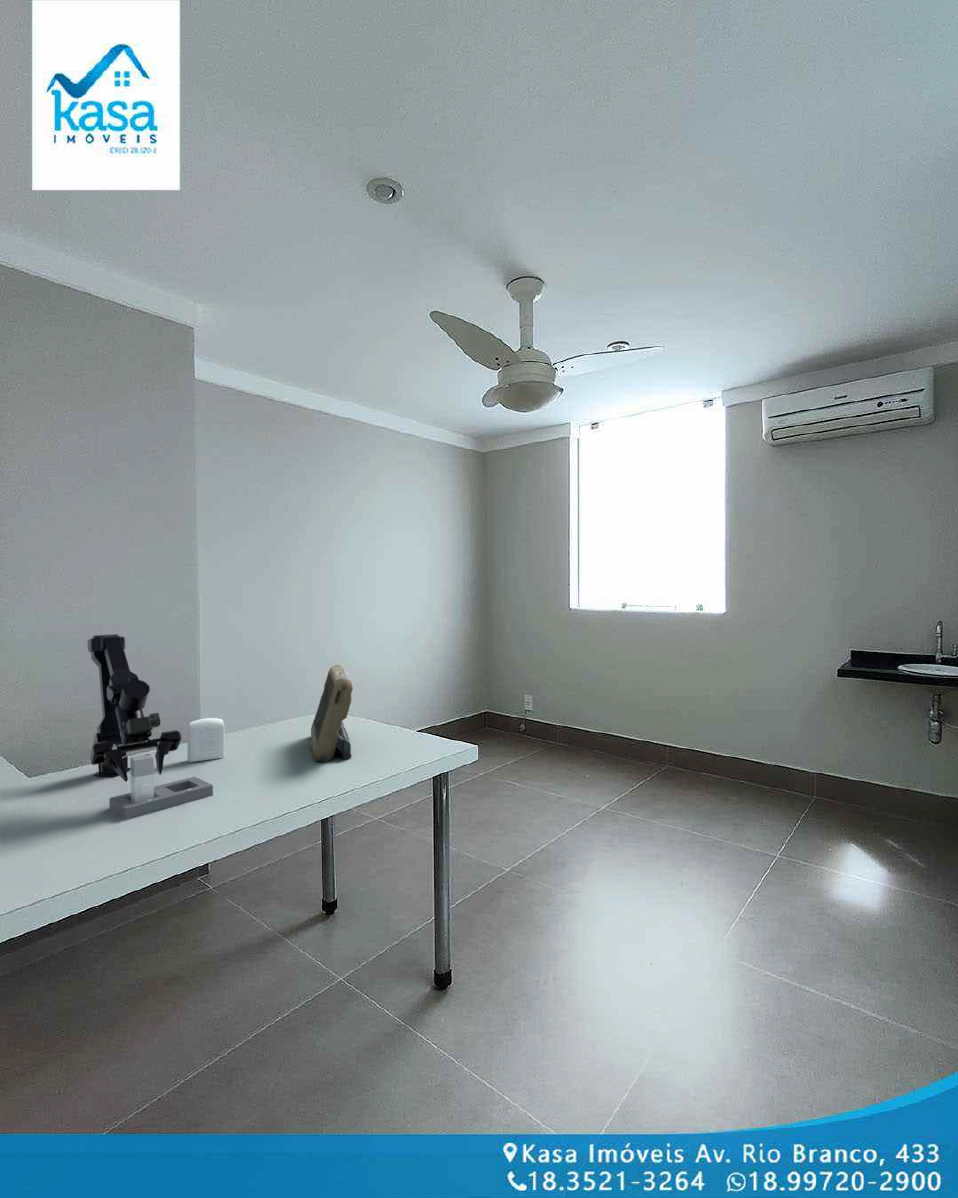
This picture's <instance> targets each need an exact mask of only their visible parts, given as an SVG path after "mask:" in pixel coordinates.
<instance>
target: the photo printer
mask: <svg viewBox="0 0 958 1198" xmlns="http://www.w3.org/2000/svg"><path fill="white" fill-rule="evenodd" d="M224 757H225V723H224V720H223V719H222V718H217V717H208V718H207V717H206V718H201V719H199V718H198V719H196V720H193V721H190V722H189V723H188V727H187V762H188V763H194V762H202V761H207V760H218V759H223V758H224Z"/></svg>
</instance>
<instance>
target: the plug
mask: <svg viewBox="0 0 958 1198" xmlns="http://www.w3.org/2000/svg"><path fill="white" fill-rule="evenodd" d="M129 758H130V768H131V770H130V793H131V802H132V803H137V802H141V801H145V800H148V799H152V798H154V787H155V777H154V775H155V770H154V767H155V766H154V763H155V762H154V757H153V755H151V754H150V753H146V754H142V755H141V754H140V755H135V756H134V755H133V756H130V757H129Z"/></svg>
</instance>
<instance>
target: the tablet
mask: <svg viewBox="0 0 958 1198" xmlns="http://www.w3.org/2000/svg"><path fill="white" fill-rule="evenodd" d="M353 689H354V686H353V683H352V681H351V680H350V679H349V678H348V677H347V675H346V673H345V669H344V668H343V667H342V665H339V664H334V665H332V666H331V667H330V668H329V670H328V673H327V676H326V679H325V682H324V686H323V691H322V693H321V696H320V699H319V703H318V707H317V710H316V713H315V715H314V718H313V720H312V723H311V728H310V747H311V750H312V751H313V758H314V760H315V761H317V762H321V763H325V762H327V761H331V759H332V758H333V757H334V756H335V753H336V748H337V749H338V750H339V751H340V753H341V756H342V758H343V759H345V760H351V758H352V752H351V751H352V750H351V749H352V748H351V747H352V745H351V742H350V737H349V734H348V732H347V729H346V728H345V725H344V723H343V721H344V720H346V719H347V718H348V714H349V710H350V706H351V704H352V693H353Z"/></svg>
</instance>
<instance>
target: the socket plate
mask: <svg viewBox="0 0 958 1198" xmlns="http://www.w3.org/2000/svg"><path fill="white" fill-rule="evenodd" d="M213 795H214V785H213V784H212V783H210V782H208V781H205V780H203V779H200V778H199V777H196V776H191V777H188V778H184V779H179V780H176V781H171V782H167V783H164V784H159V785H156V786H155V785H154V798H152V799H148V800H145V801H141V802H137V803H132V802H131V792H127V793H124V794H120V795H116V796H113V797H109V798H108V799H109V803H108V804H109V809H110V810H111V811H112V812H114V813H116V814H117V815H119V816H120V817H121V818H123V819H125V820H128V819H129V820H130V819H133V818H135V817H141V816H143V815H147V814H151V813H153V812H158V811H162V810H165V809H168V808H172V807H174V806H179V805H182V804H186V803H189V802H192V801H193V802H194V801H197V800H200V799H203V798H207V797H211V796H213Z"/></svg>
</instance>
